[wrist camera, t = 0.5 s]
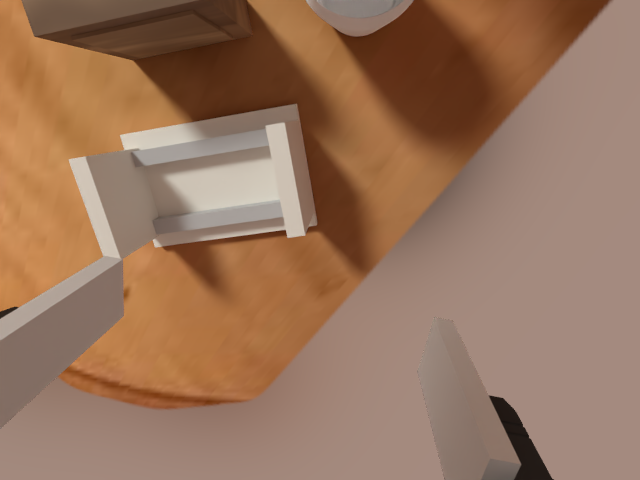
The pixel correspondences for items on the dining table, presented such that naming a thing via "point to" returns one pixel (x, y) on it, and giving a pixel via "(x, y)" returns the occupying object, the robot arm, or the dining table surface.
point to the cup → (358, 14)
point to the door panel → (138, 24)
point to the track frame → (200, 182)
